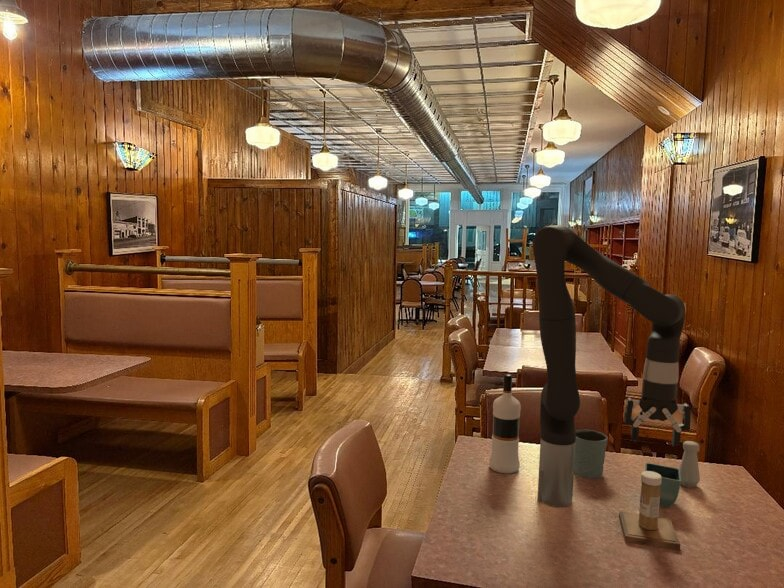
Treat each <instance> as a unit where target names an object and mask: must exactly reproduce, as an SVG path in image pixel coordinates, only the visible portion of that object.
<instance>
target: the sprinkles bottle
mask: <svg viewBox="0 0 784 588" xmlns="http://www.w3.org/2000/svg"><path fill="white" fill-rule="evenodd" d="M661 481H662V477H661V475H660V474H658V473H656V472H652V471H645V470H644V471H642V472H641V474H640V482H641V486H640V496H639V497H640V498H639V509H638V511H639V513H638V514H639V521H638V524H639V526H641V527H642V528H644V529H647V530H656V529H657V528H658V517H660V516H659V515H660V505H659V503H660V485H661Z"/></svg>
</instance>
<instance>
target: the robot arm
mask: <svg viewBox="0 0 784 588" xmlns="http://www.w3.org/2000/svg"><path fill="white" fill-rule="evenodd" d="M532 252H533V258H534V264H535V271H536V277H537V290H538V291H537V293H538V294H537V295H538V297H537V298H538V322H539V324H538V325H539V335H540V342H541V348H542V352H543V357H544V360H545V365H546V383H545V384H544V385H543V387H542V390H541V394H540V407H539V409H540V410H539V411H540V412H539V413H540V414H539V427H540V443H539V444H540V446H539V459H538V460H539V462H538V463H539V464H538V477H537V478H538V482H537V498H536V499H537V500H536V501H537V502H541V503H543V504H545V505H548V506H552V507H559V508H560V507H567V506H570V505H571V504H572V503H573V497H574V496H573V495H574V476H575V473H574V462H575V445H576V424H575V416H576V415H577V414H578V412H579V410H580V406H581V398H580V391H579V385H578V378H577V371H576V370H577V369H576V356H577V355H576V353H577V335H576V334H577V325H576V322H577V321H576V312H575V311H576V310H575V306H574V303H573V299H572V297H571V295H570V291H569V290H568V289H569V288H568V287H567V283H566V277H565V276H566V275H565V273H566V272H565V271H566V269H565V266H566V265H565V262H566V263H569V264H571V265H574V266H575V267H578V268H579V269H581V270H582V271H584V272H585V273H586V274H587V275H588V276H589V277H591V279H593V280H594V282H596V283H597V284H598V285H599V286H600V287H601V288H602V289H604V290H605V291H606V292H608V293H609V294H611V295H613V296H614V297H616V298H617V299H619V300H620V301H622V302H624V303H625V304H627V305H628V306H631V307H632V309H634V310H635V311H636V312H637V313H638V314H640V315H641V316H643V317H644V318H645V319H646V320H647V321H649V322H650V323H652V324H651V332H650V335H649V336H648V339H647V342H646V352H645V354H646V355H645V360H644V361H645V362H644V364H643V373H642V374H643V375H642V383H641V384H642V385H641V396H640V399H632V398H631V397H627V399H626V403H625V409H624V416H623V420H624V422H625V423H626V425H630V426H631V428H630V429H631V430H630V431H631V432H630V437H631V439H632V440H633V442H634V443H638V442H639V434H640V433H639V432H640V427H639V426H640V425H641V424H642V423H644V422H645V421H646V420H648V419H650V421H656V420H658V421H661V422H665V421H669V423H670V425H671V426H672V427H673V429H672V433H671V434H672V435H671V445H672V447H675V448H677V446H678V445H680V443H681V435H682V434H681V433H682V432H684V431H686V432H687V431H690V430H691V415H692V414H691V412H692V411H691V410H692V409H691V407H690V405H689V404H688V403H687V402H684V403H683V404H679V403H678V404H677V397H678V396H677V395H678V383H679V379H680V377H679V373H680V372H679V371H680V369H679V360H680V350H681V349H680V345H681V344H680V342H681V336H682V333H683V328H684V325H685V324H684V323H685V317H686V307H685V303H684V301H683V300H682V299H681V298H680V297H679V296H677V295H675V294H670V293H669V294H664V293H662V292H661V291H659V290H657V289H655V288H654V287H653V286H650V284H649V282H648V281H647V280H646V279H644V278H642V276H639V275H638V274H636V273H634V272H632V271H631V270H629V269H628V268H626V267H624V266H622V265H621V264H618V263H617V262H616V261H613V260H612V259H610V258H609V257H608V256H606V255H604V254H602V253H601V252H599V251H598V250H596V249H595V248H594V247H593V246H591V245H590V244H589V243H587V242H586V241H585V240H584V239H583V238H581V237H580V236H579V235H578V234H577V233H575V232H574V231H573V230H572V229H570V227H568V226H566V225H560V224H559V225H558V224H556V225H547V226H543V227H541V228H539V229H538V230H537V232H536V233H535V235H534V237H533V241H532ZM637 406H639V408H640V409H641V410H639V412H638V413H637V415H636V416H634V417H633V418H632V415H633V414H632V413H633V410H634V409H637V408H636V407H637ZM678 410H679V412H680V414H681V415H682V417H681V418H682V420H681V421H682V422H681V423H680V424H679V423H678V422H677V420H676V419H675V418H674V416H673V415H674V414H675V413H676V412H677V411H678Z"/></svg>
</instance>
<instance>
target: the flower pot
mask: <svg viewBox="0 0 784 588" xmlns="http://www.w3.org/2000/svg"><path fill="white" fill-rule="evenodd" d="M644 471H652V472H656V473H658V474H660V475H661V477H662V481H661V485H660V503H659V507H666V508H671V507H672V506H673V505H674V504H675V503H676V501H677V500H678V496H679V493H680V488H681V476H680V469H679V467H678V468H677V467H674V466H665V465H661V464H657V463H656V464H655V463H651V462H650V463H649V462H645V463H644Z"/></svg>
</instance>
